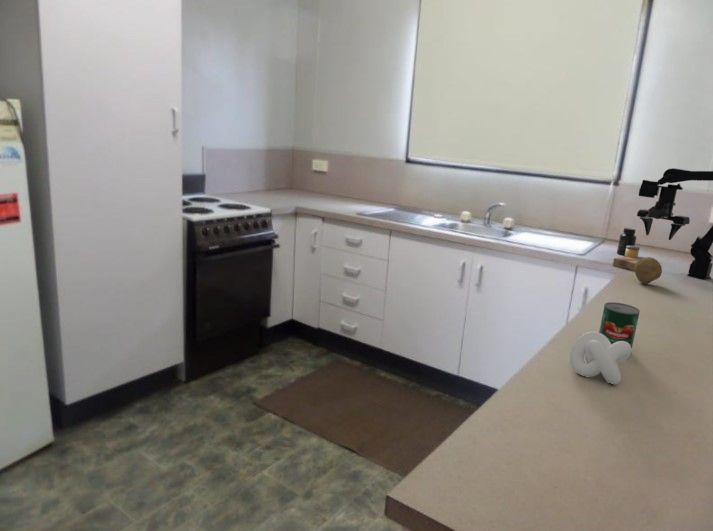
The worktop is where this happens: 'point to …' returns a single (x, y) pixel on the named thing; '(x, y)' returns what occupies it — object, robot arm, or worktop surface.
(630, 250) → the spice jar
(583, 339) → the white knot sculpture
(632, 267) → the walnut plinth
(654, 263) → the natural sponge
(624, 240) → the supplement bottle
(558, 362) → the worktop surface
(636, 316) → the canned tomato
